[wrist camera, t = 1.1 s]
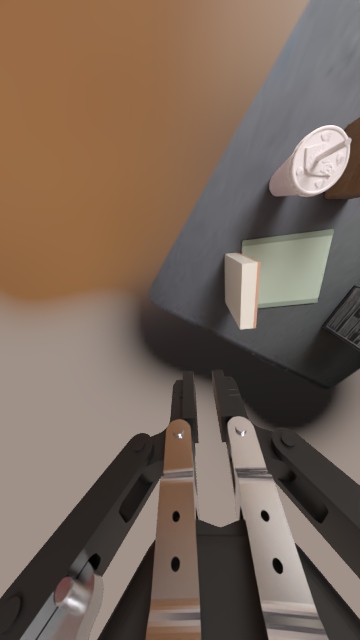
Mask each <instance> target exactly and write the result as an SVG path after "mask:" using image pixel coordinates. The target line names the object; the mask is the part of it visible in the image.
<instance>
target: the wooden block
mask: <svg viewBox="0 0 360 640" xmlns="http://www.w3.org/2000/svg"><path fill="white" fill-rule="evenodd" d="M345 133H346V134H347V136H348V138H351V143H350V155H349V159H348V163H347V165H346V168H345V170H344V172H343V174H342V175H341V177H340V178H339V179H338V180H337V182H336V183H335V184H334V185H333V186H332V187H330V188H329V189H328V190H326V193H325V196H324V198H326V199H353V198H358V197H360V118H358V119H357V120H355V121H354V122H352V123H351V124H349V125H348V126H347V127H346V129H345Z"/></svg>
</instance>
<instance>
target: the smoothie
mask: <svg viewBox="0 0 360 640" xmlns="http://www.w3.org/2000/svg"><path fill="white" fill-rule="evenodd" d="M350 143H351V138H348V136H347V134H346V133H345V131H344V130H343V129H341V128H340V127H338V126H334V125H327V126H323V127H320V128H318V129H316V130H314V131H313V132H312V133H310V134H309V135H307V136H306V137H305V138H303V139H302V141H301V142H300V143H299V144H298V145H297V147H296V148H295V150H294V152H293V154H292V155H291V156H290V157H289V158H288V159H287V160H286V161H285V162H284V163H283V165H282V166H281V167H280V168H279V169H278V170H277V171H276V172H275V173H274V174H273V175H272V177H271V179H270V182H269V190H270V192H271V194H272V195H274V196H277V197H278V196H290V195H300V196H304V197H310V196H315V195H317V194H320V193H322V192H324V191H326V190H328V189H329V188H330V187H332V186H333V185H334V184H335V183H336V182H337V180H338V179H339V178H340V177H341V175H342V174H343V172H344V170H345V168H346V165H347V163H348V159H349V155H350Z"/></svg>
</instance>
